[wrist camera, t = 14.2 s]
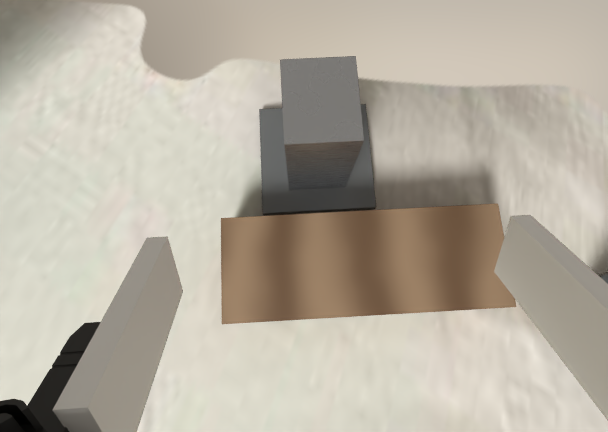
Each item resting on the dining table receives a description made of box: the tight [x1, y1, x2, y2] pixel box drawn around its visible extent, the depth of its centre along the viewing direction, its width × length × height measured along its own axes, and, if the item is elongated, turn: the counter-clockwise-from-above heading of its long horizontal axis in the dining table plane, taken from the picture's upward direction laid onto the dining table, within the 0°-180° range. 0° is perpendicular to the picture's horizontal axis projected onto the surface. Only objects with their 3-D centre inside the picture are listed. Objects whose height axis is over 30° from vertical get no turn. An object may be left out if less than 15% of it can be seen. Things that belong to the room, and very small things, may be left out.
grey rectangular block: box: [280, 56, 364, 190], centre depth 28 cm, size 6×5×10 cm
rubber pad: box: [259, 104, 376, 215], centre depth 34 cm, size 10×10×1 cm
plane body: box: [221, 204, 516, 324], centre depth 30 cm, size 22×8×4 cm, turn 93°
